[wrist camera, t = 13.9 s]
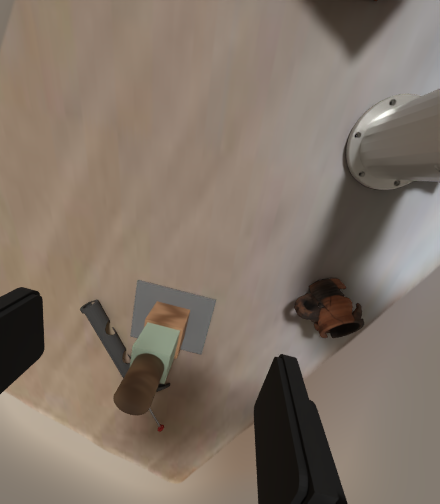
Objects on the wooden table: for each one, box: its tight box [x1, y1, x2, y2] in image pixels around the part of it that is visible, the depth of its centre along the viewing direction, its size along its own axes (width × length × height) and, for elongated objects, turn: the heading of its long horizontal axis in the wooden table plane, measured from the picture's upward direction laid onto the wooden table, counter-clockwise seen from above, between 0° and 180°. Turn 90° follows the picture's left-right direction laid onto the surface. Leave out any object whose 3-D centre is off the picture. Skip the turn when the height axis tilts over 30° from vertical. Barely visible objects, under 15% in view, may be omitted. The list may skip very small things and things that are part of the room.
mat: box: [131, 280, 216, 354], centre depth 47 cm, size 16×14×1 cm
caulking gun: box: [80, 300, 170, 432], centre depth 52 cm, size 4×37×10 cm
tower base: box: [144, 301, 190, 359], centre depth 44 cm, size 7×7×6 cm
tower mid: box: [130, 322, 180, 384], centre depth 39 cm, size 6×6×6 cm
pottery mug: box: [294, 278, 364, 338], centre depth 41 cm, size 12×10×8 cm
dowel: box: [114, 353, 164, 415], centre depth 33 cm, size 5×5×6 cm
